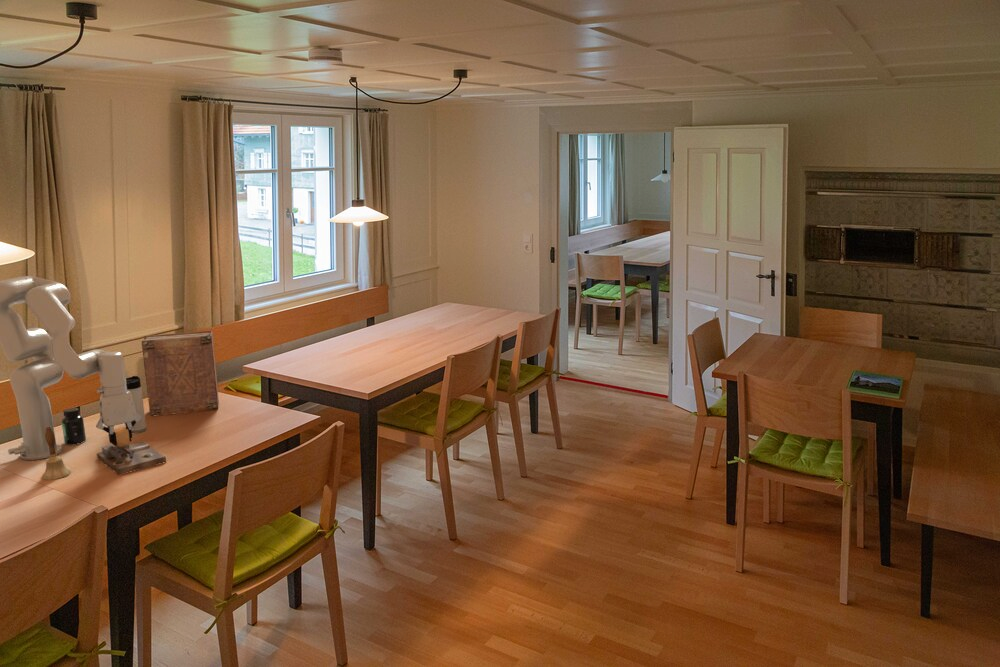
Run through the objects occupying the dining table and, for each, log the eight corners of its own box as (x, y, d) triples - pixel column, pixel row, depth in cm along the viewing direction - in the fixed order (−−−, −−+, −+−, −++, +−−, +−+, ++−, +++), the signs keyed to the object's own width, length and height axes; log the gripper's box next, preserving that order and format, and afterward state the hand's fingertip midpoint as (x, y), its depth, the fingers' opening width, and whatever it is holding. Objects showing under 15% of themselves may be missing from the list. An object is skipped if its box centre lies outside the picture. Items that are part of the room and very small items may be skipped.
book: (149, 416, 316) (140, 341, 310) (152, 409, 325) (143, 335, 318) (218, 409, 323) (211, 335, 317) (219, 402, 332) (212, 330, 325)
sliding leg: (126, 460, 264) (123, 437, 262) (113, 451, 272) (110, 429, 271) (138, 457, 267) (136, 434, 265) (126, 448, 275) (123, 426, 273)
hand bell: (43, 482, 255) (36, 433, 251) (39, 473, 261) (32, 426, 258) (73, 475, 260) (66, 427, 256) (68, 467, 266) (62, 421, 263)
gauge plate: (118, 475, 259) (116, 459, 258) (97, 458, 273) (95, 444, 272) (166, 462, 269) (164, 447, 268) (143, 447, 283) (141, 432, 282)
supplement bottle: (63, 446, 285) (58, 413, 283) (65, 440, 292) (61, 408, 289) (85, 443, 288) (80, 411, 285) (87, 437, 294) (82, 405, 291)
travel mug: (150, 427, 303) (143, 375, 299) (140, 433, 297) (134, 380, 292) (134, 427, 304) (127, 375, 299) (124, 433, 297) (117, 380, 293)
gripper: (91, 397, 259) (98, 452, 263) (145, 386, 270) (151, 438, 274) (83, 392, 264) (90, 446, 268) (136, 382, 275) (142, 433, 279)
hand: (121, 441), depth 271 cm, fingers closed on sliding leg, 4 cm apart
